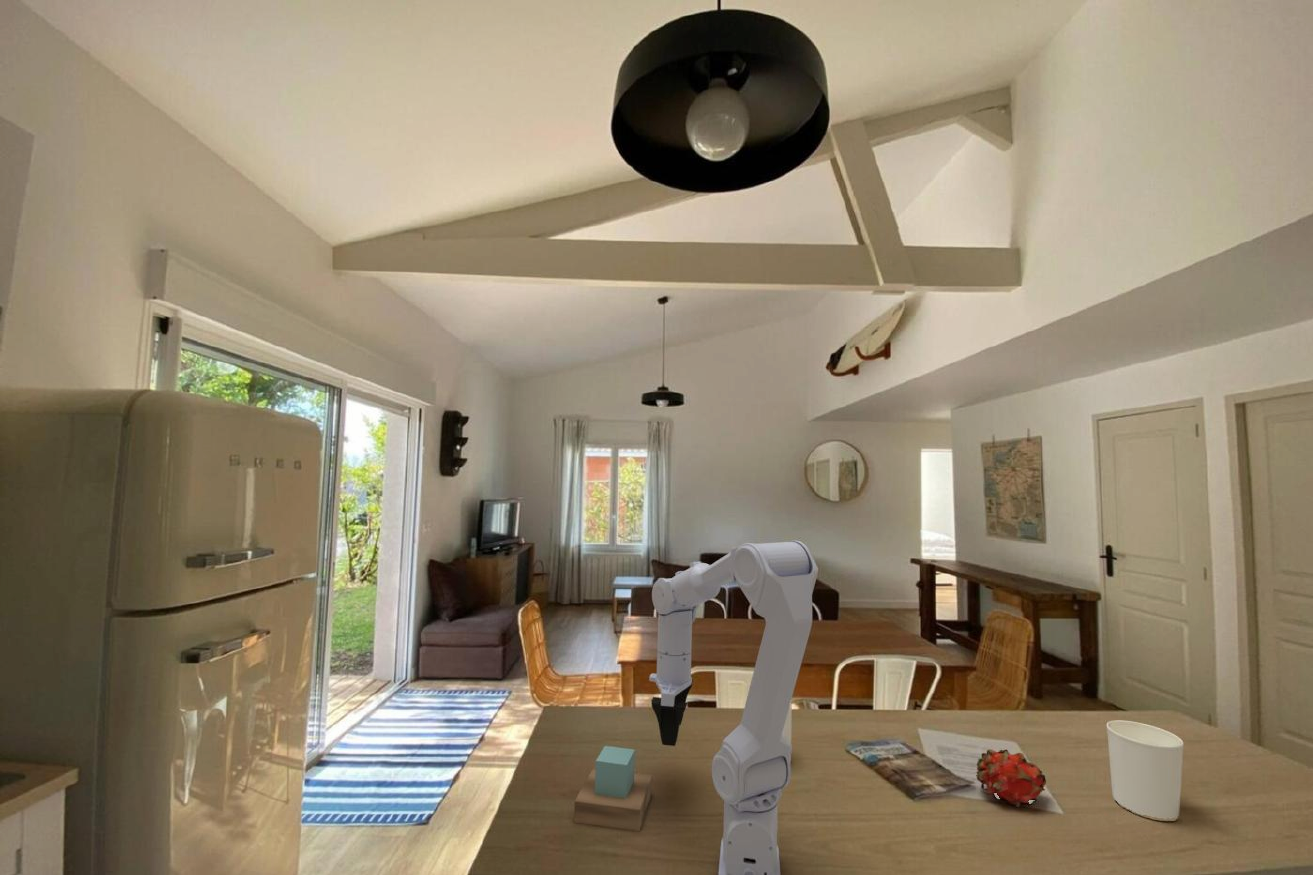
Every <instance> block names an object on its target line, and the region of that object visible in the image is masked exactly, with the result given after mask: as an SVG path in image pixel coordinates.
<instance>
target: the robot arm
mask: <svg viewBox="0 0 1313 875" xmlns="http://www.w3.org/2000/svg"><path fill="white" fill-rule="evenodd" d="M818 574H819V568H818V566H817V563H816V561H815V559H814V557H813V555H812V553H811V551H810V549H809V547H808V546H806V544H804V543H803V542H801V541H799V540H796V539H795V540H789V541H783V542H782V541H781V542H764V543H763V542H762V543H754V542H753V543H752V542H744V543H742V544H740V545H739V546H735V547H732V548H731V549H730V552H729V553H727V554H726V555H724V556H723V557H720V558H719V559H718V560H716V561H715V562H713V563H712V564H708V563H705V562H702V561H693V562H691V563H689V568H688V569H686V570H682V571H681V570H680V571H679V570H678V571H677V572H675V574H674V575H675V576H673V577H672V578H665V577H659V578H658V579H657V580H656V581H655V582H654V583H653V587H652V589H651V590H652V591H651V600H652V604H653V606H654V610H655V611H656V612H657V615H658V616H657V645H656V646H657V652H656V655H657V656H656V673H653V672H652V673H650V674H649V679H648V680H649V682H652V683H653V682H654V683H655V684H656V686H657V688H658V690H659V692H660V694H661V696H660V697H657V696H652V699H651V708H652V710H653V712H654V714H655V716H656V720H657V723H658V729H659V734H660V740H661V745H663V746H670V747H675V746H676V743H677V741H678V735H679V730H680V726H681V725H682V721H683V718H684V715H685V714H684V713H685V711H686V710H687V708H688V707H687V706H688V702H687V698H688V696H689V692H690V690H691V688H692V687H693V684H694V680H693V677H692V645H693V644H692V643H693V642H692V639H693V638H692V636H693V623H694V622H695V620H696V613H697V610H698V608H699V606H700V605H701V604H703V603H705V602H708V601H710V600H712V599H714V598H716V597H717V596H718V594H719V593H720V591H721V586H724V585H727V584H730V583H732V582H736V583H737V584H738V586H739V588H740V589H741V591H742V593H743V594H744V597H746V600H748V602H749V604H750V605H751V608H752V609H753V610H754V612H755V614H756V615H758V616H760V617H761V618H763V619H764V620H765V627H764V630H763V635H762V638H761V641H760V642H761V643H760V646H759V650H758V654H757V657H756V662H755V666H754V670H753V672H752V677H751V682H750V685H749V690H748V693H747V697H746V700H745V704H744V708H743V712H742V717H741V720H740V724H738V726H736V728H734V729H733V730H732V731H731V732H730V733H728V735H726V737H725V738H724V739H723V740H722V742H721V747H720V748H719V751H718V752H716V753H715V755H714V756H713V759H712V763H711V777H712V782H713V785H714V788H715V790H716V792H717V794H718V795H719V797H720V798H721V799H722V800H723V831H722V832H723V835H722V839H721V842H720V852H719V862H718V863H719V864H718V875H781V866H780V864H781V863H780V852H779V851H780V850H779V846H778V808H779V807H778V805H779V804H778V803H779V799H780V798H782V797H783V789H784V788H786V786H788V785H789V783H790V781H791V778H792V777H791V776H792V765H791V762H790V756H791V757H792V752H793V747H792V744H791V745H790V743H789V741H788V740H787V738H786V737H785V736H784V735H783V733H782V732H783V728H784V724H785V721H786V717H787V713H788V710H789V706H790V702H791V703H792V698H793V695H794V691H795V687H796V683H797V680H798V676H799V673H800V670H801V666H802V662H803V659H804V654H805V651H806V648H807V645H808V640H809V637H810V632H811V630H812V626H813V592H814V590H815V589H814V588H815V584H816V580H817V579H818V578H817V577H818Z"/></svg>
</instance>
